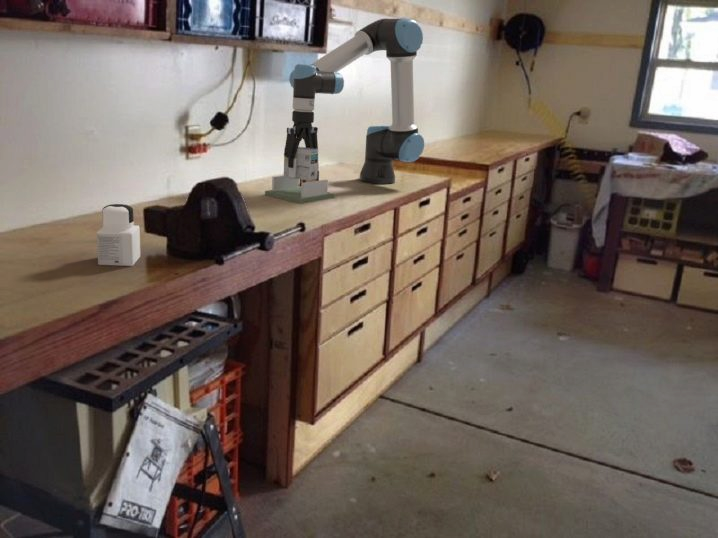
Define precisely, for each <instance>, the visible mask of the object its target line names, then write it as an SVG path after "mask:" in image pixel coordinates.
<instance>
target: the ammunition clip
mask: <svg viewBox="0 0 718 538" xmlns="http://www.w3.org/2000/svg"><path fill="white" fill-rule="evenodd" d="M319 166H320V165H319V163H318V168H320V167H319ZM319 180H320V171H319V170H318V173H317V179H313V180H310V181H309V180H301V179H299V186H301V185H302V183H305V182H312V181H319Z"/></svg>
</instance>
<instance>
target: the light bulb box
mask: <svg viewBox="0 0 718 538" xmlns="http://www.w3.org/2000/svg"><path fill="white" fill-rule="evenodd" d="M283 151H285V148H284V150H283ZM294 159H296V178H293V177H289V167H288V158H286V157H285V156H284V155H283V175H284V177H286V178H293V179H299V180H300V179H301V180H309V181H310V180H313V179H317V173H318V171H319V167H318V164H319V148H318V149H314V148H306V146H305V147H303V146H298V149H297V152H296V155H295V158H294Z"/></svg>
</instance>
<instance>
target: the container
mask: <svg viewBox="0 0 718 538" xmlns="http://www.w3.org/2000/svg"><path fill="white" fill-rule="evenodd" d="M102 225H103V226H102V227H101V228H100V229H99V230H97V232H96V245H97V264H98V265H99V266H102V265H103V266H122V267H124V266H125V267H133V266H134V265H135V264H136V263H137V261H138V260H139V259H140V258H141V236H140V235H141V231H140V230H141V229H140V225H135V222H134V208H133V207H132V206H131V205H128V204H123V203H113V204H111V203H110V204H107V205H105V206H104V207H103V208H102Z"/></svg>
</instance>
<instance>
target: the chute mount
mask: <svg viewBox="0 0 718 538" xmlns="http://www.w3.org/2000/svg"><path fill="white" fill-rule="evenodd" d="M271 179H272V181H271V189H269V190H268V189H267V190H264V196H268V197H271V198H276V199H280V200H285V201H288V202H293V203H297V204H306V203H310V202H316V201H322V200H328V199H334V198H335V196H334V195H335V193H334V192H329V191H328V189H329V179H319V181H312V182H305V183H302V185H301V186H300V179H293V178H286V177H284V174H282V175H275V176H272V178H271Z"/></svg>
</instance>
